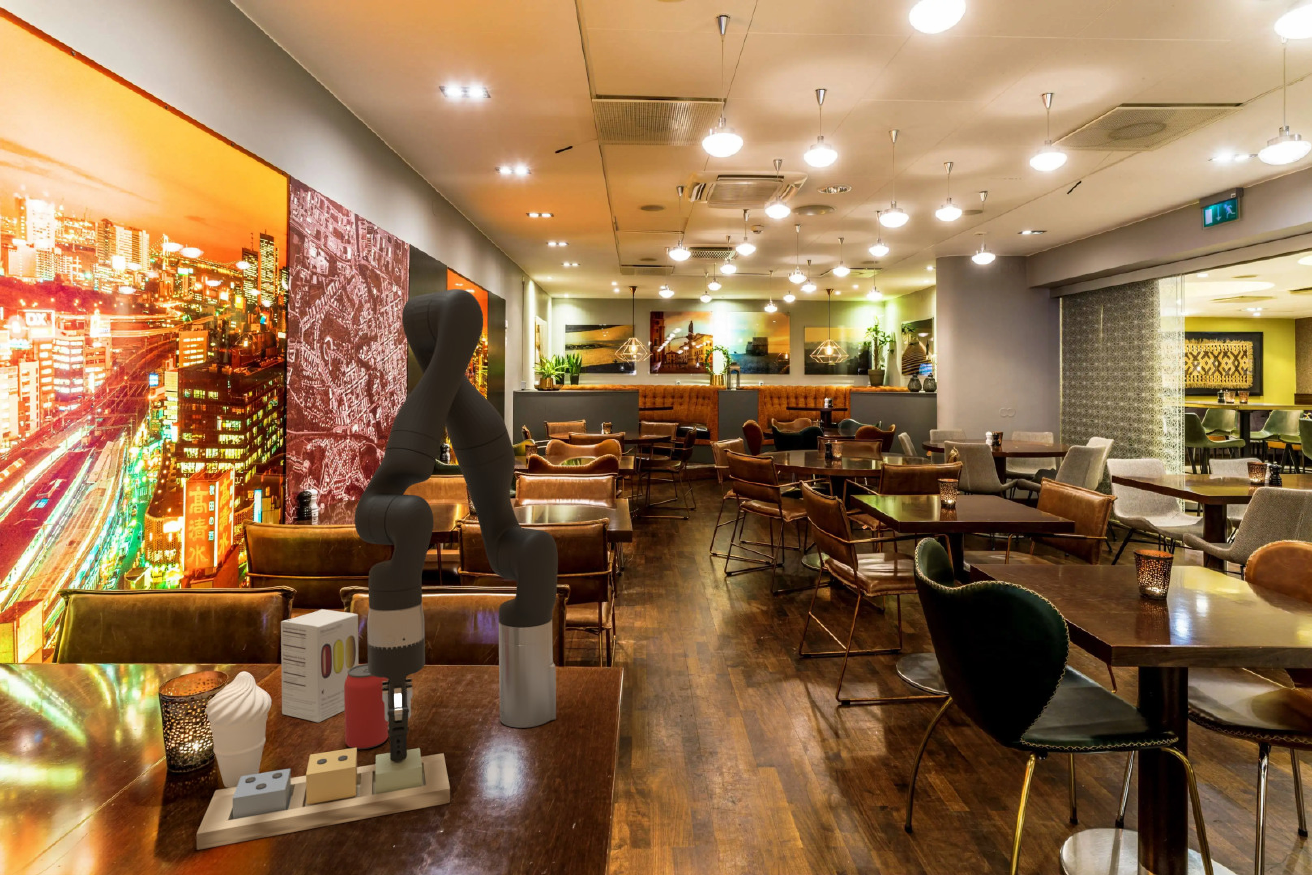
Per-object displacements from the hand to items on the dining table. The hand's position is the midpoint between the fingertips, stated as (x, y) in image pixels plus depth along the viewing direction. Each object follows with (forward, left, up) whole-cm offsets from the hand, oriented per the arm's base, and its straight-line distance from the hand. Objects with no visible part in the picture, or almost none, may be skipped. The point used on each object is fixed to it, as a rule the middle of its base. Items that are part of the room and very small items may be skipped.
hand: (398, 757), depth 102 cm
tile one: (0, 0, -4) cm, 4 cm away
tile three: (+17, 0, -4) cm, 18 cm away
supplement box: (+13, -35, -5) cm, 38 cm away
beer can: (+5, -18, -5) cm, 20 cm away
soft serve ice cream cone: (+22, -12, -5) cm, 25 cm away
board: (+9, 0, -5) cm, 10 cm away
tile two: (+9, 0, -3) cm, 9 cm away
